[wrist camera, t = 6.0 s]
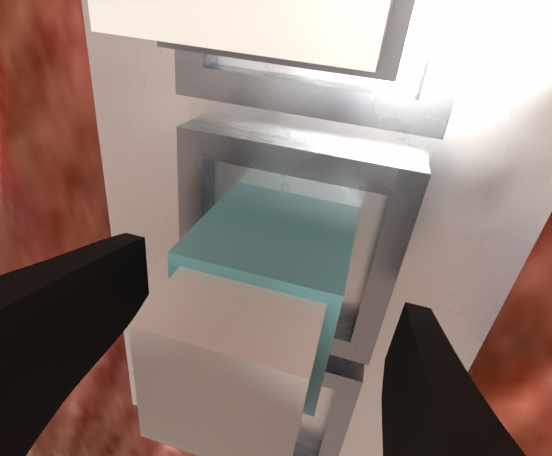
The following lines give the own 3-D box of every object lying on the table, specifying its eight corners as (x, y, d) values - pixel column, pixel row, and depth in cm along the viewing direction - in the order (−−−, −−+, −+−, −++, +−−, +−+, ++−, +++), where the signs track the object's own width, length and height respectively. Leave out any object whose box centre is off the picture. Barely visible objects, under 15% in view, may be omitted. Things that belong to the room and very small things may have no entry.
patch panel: (801, -301, 6) (907, -384, 5) (403, 483, 18) (404, 518, 17) (60, -284, 9) (2, -338, 7) (138, 396, 21) (121, 421, 19)
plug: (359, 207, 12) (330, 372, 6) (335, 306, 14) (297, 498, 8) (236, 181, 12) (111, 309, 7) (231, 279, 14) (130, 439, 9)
